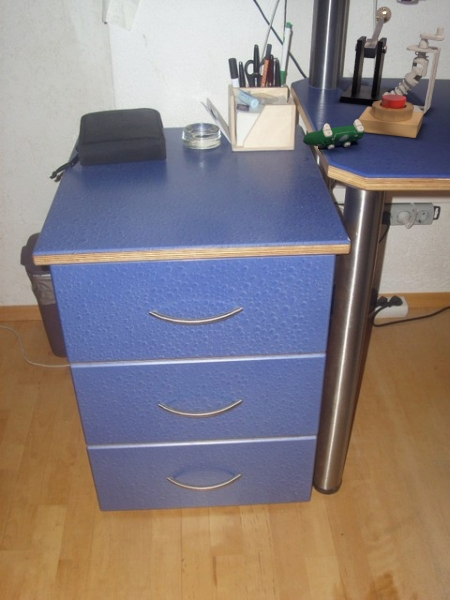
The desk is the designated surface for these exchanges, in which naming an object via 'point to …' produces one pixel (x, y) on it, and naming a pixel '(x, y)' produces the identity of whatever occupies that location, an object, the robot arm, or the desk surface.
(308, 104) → the desk surface
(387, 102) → the button
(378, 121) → the button block
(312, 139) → the green toy race car
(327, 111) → the desk surface
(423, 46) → the clamp
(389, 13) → the lever
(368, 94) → the bracket
